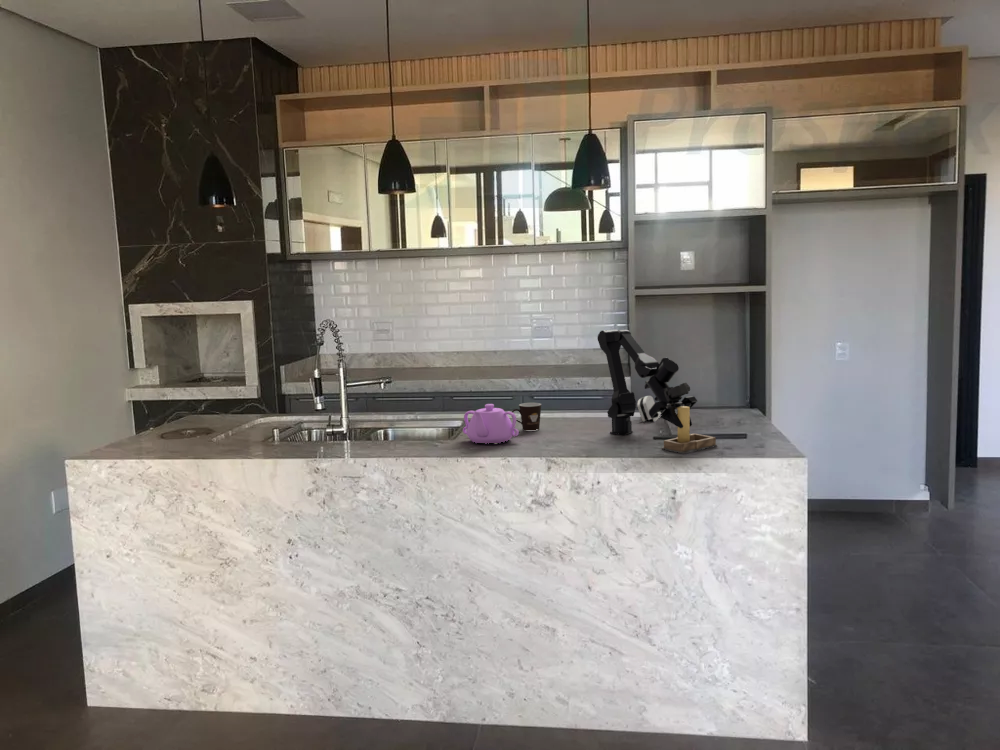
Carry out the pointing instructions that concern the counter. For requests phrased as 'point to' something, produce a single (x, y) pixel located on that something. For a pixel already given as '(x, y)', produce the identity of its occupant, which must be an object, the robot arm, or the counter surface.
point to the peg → (684, 417)
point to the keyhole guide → (690, 443)
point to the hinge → (646, 408)
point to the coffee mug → (529, 415)
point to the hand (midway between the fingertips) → (686, 426)
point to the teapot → (490, 425)
